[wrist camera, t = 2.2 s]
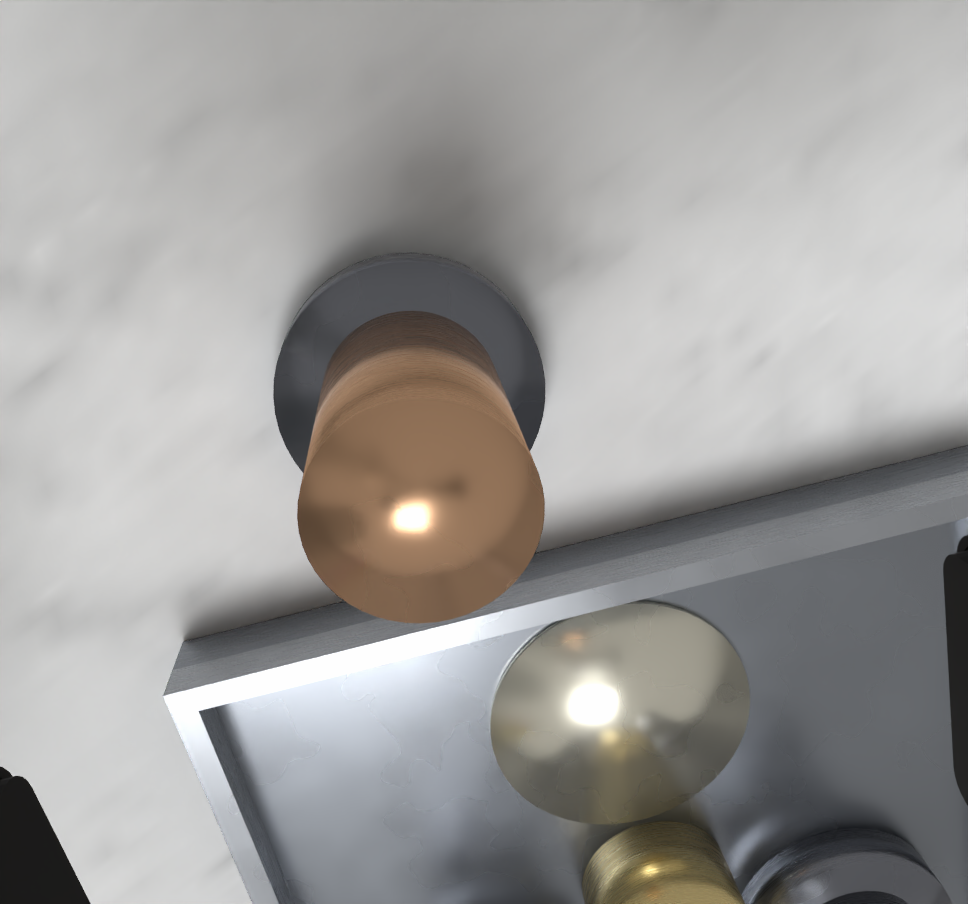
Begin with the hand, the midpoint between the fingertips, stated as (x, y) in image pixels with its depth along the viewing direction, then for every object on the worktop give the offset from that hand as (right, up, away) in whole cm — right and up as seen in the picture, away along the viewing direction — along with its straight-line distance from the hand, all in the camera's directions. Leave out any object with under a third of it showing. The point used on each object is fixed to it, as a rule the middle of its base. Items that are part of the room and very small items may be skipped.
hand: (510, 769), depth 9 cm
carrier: (+4, -8, +17) cm, 20 cm away
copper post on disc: (-2, +5, +12) cm, 13 cm away
